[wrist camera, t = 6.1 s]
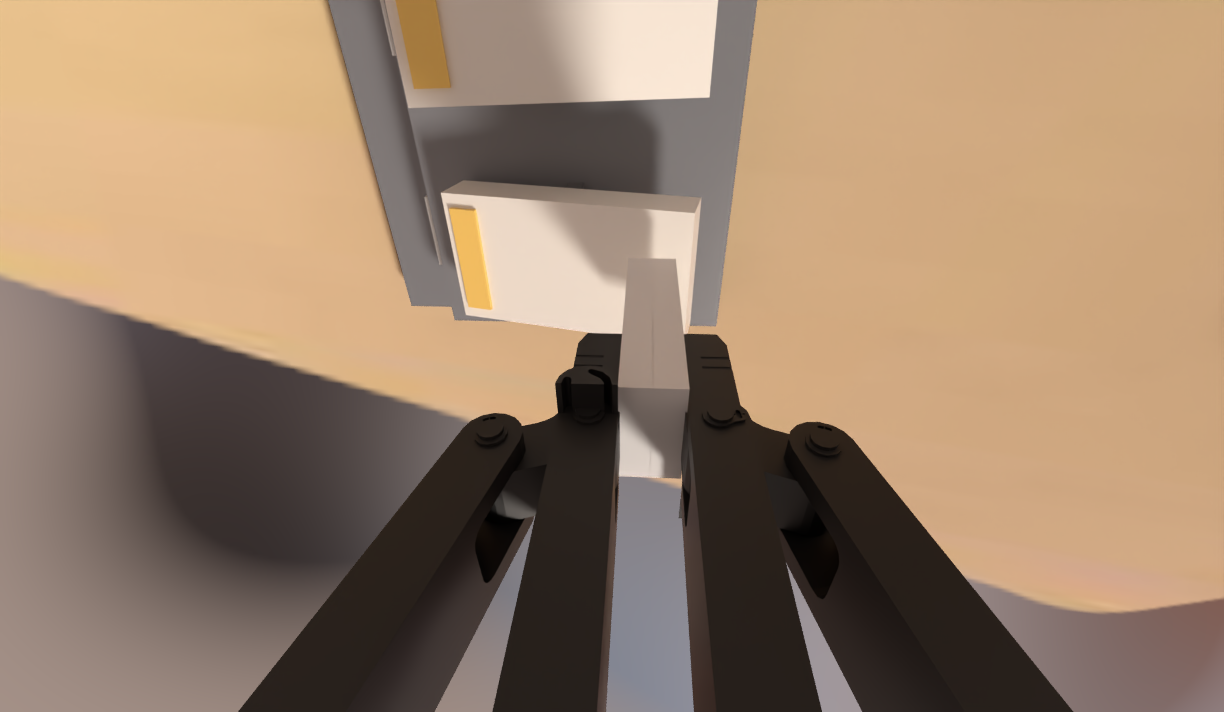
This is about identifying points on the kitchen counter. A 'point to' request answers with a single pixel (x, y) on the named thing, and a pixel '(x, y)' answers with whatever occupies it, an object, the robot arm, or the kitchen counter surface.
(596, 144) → the switch unit
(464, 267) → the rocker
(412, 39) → the rocker
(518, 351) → the kitchen counter surface
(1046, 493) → the kitchen counter surface
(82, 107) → the kitchen counter surface
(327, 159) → the kitchen counter surface
